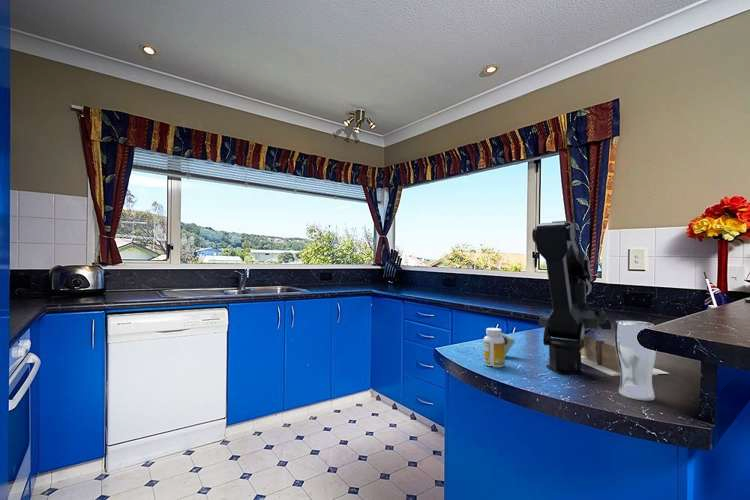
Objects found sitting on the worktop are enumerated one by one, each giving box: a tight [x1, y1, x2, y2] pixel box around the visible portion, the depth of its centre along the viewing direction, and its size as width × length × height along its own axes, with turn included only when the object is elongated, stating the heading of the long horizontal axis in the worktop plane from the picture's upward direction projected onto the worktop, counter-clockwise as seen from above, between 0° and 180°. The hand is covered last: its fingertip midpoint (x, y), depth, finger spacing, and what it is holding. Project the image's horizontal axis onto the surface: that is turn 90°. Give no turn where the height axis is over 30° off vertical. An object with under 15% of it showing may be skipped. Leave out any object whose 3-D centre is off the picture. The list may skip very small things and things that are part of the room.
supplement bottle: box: [483, 327, 506, 368], centre depth 96 cm, size 5×5×10 cm
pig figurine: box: [501, 332, 516, 356], centre depth 105 cm, size 8×4×7 cm, turn 82°
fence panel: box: [579, 334, 599, 362], centre depth 100 cm, size 10×2×6 cm, turn 175°
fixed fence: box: [597, 340, 620, 373], centre depth 89 cm, size 2×11×7 cm, turn 3°
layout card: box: [581, 354, 670, 377], centre depth 95 cm, size 14×18×1 cm
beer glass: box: [614, 320, 657, 402], centre depth 74 cm, size 7×7×15 cm
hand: (574, 352), depth 102 cm, fingers closed
